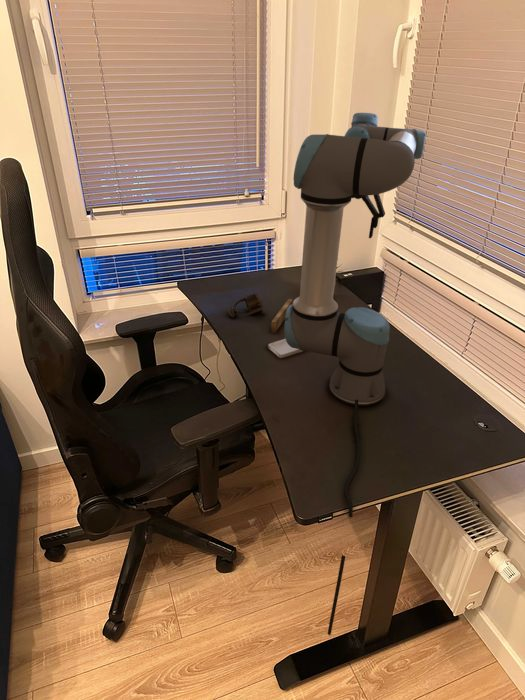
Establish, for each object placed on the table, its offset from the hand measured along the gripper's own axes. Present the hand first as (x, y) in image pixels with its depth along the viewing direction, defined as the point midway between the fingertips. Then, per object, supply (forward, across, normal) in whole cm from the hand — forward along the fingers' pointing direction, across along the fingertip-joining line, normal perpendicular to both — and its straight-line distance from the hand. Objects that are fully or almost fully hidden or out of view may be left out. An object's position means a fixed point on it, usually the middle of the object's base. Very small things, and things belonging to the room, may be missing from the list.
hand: (350, 234), depth 167 cm
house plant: (+28, +9, -8) cm, 30 cm away
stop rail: (+27, +16, +19) cm, 37 cm away
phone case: (+28, +7, +33) cm, 44 cm away
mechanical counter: (+28, +30, +19) cm, 45 cm away
